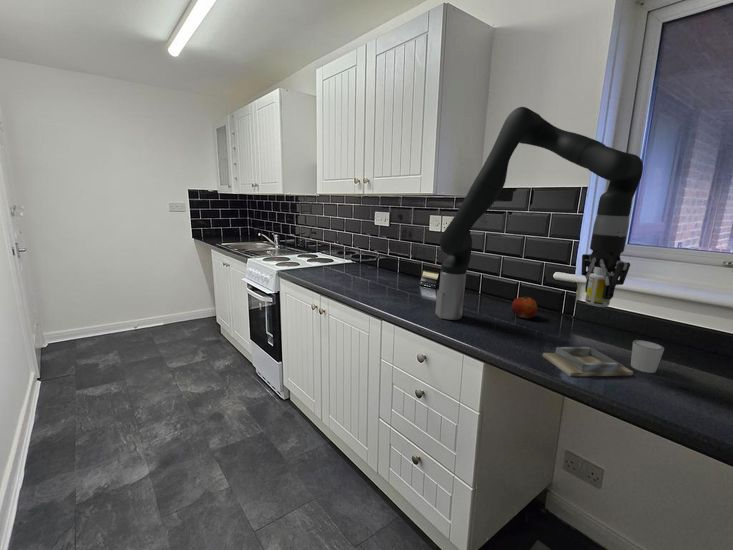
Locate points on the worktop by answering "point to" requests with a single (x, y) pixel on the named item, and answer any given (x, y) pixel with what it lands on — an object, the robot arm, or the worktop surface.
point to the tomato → (524, 307)
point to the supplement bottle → (596, 289)
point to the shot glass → (646, 356)
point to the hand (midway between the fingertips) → (598, 295)
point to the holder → (585, 362)
